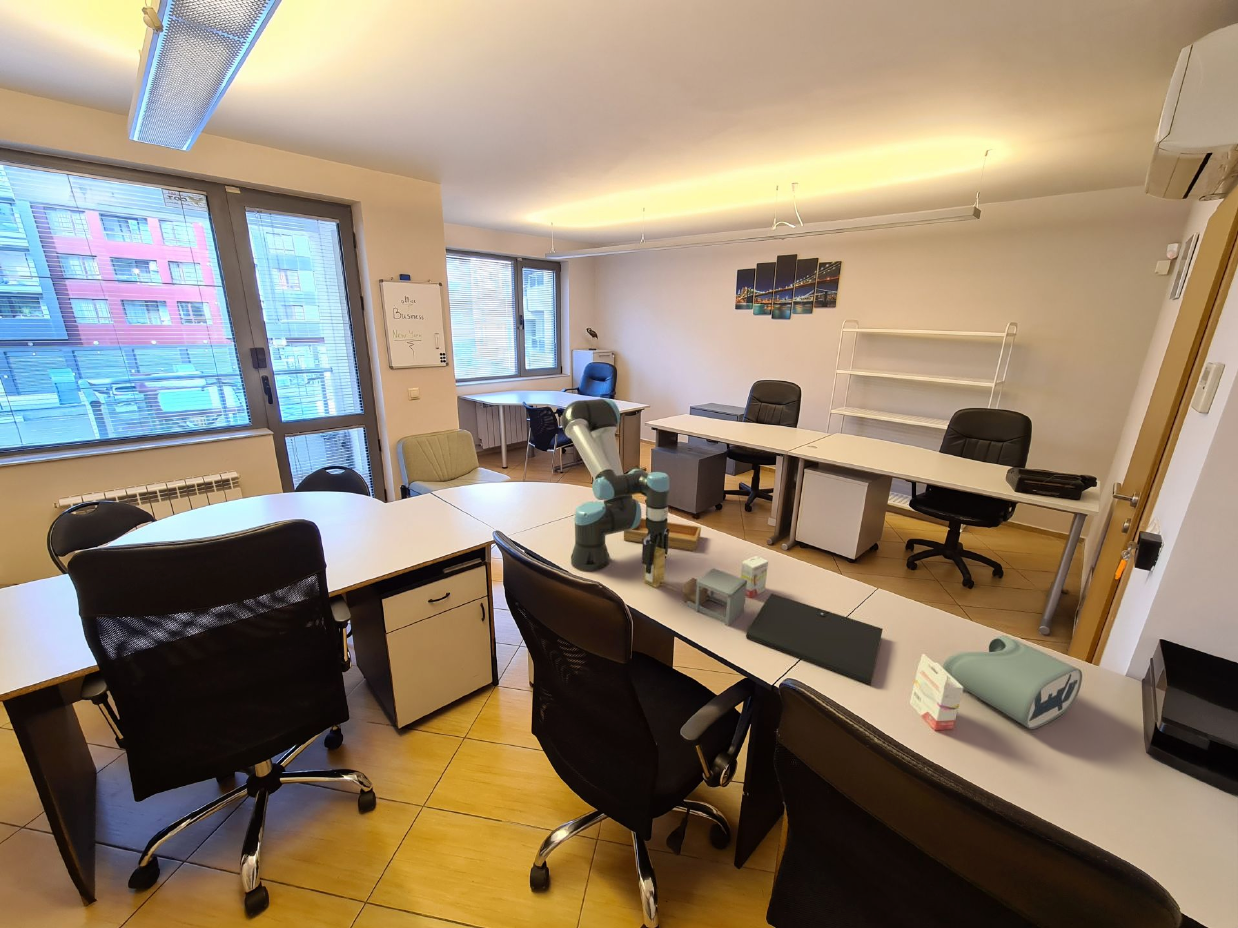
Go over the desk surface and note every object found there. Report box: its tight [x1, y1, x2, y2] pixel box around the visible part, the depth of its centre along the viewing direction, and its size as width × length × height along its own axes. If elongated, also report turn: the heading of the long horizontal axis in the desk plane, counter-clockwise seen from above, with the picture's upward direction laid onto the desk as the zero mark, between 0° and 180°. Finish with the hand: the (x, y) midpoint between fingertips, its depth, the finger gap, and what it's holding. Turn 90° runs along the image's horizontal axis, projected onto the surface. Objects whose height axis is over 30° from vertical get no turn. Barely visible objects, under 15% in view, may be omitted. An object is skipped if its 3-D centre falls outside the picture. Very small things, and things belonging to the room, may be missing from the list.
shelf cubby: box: [686, 567, 747, 627], centre depth 150 cm, size 16×11×11 cm
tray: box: [623, 517, 702, 552], centre depth 201 cm, size 31×15×6 cm, turn 72°
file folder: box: [745, 593, 883, 686], centre depth 138 cm, size 33×4×24 cm
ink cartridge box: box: [909, 653, 964, 731], centre depth 109 cm, size 9×5×15 cm, turn 5°
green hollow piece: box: [942, 635, 1083, 730], centre depth 116 cm, size 22×19×13 cm
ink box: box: [740, 555, 769, 599], centre depth 160 cm, size 9×5×12 cm, turn 126°
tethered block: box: [643, 547, 709, 606], centre depth 160 cm, size 22×6×13 cm, turn 50°
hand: (654, 577), depth 166 cm, fingers closed on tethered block, 5 cm apart
